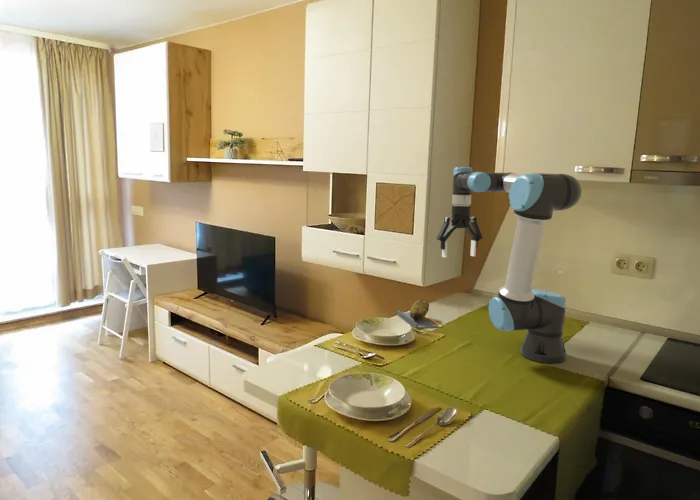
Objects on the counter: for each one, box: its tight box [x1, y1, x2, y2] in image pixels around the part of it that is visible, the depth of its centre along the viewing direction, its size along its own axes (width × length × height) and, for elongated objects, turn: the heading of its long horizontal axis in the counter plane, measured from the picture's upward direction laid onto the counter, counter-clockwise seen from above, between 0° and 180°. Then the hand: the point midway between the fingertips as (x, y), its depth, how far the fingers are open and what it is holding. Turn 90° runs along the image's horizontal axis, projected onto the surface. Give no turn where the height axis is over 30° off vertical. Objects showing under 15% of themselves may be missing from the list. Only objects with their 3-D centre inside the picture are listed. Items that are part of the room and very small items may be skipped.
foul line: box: [424, 314, 443, 328], centre depth 220 cm, size 20×1×1 cm, turn 17°
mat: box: [396, 309, 439, 330], centre depth 218 cm, size 20×10×2 cm, turn 17°
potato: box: [409, 298, 430, 320], centre depth 217 cm, size 8×13×8 cm, turn 146°
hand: (458, 256), depth 212 cm, fingers open, 13 cm apart
